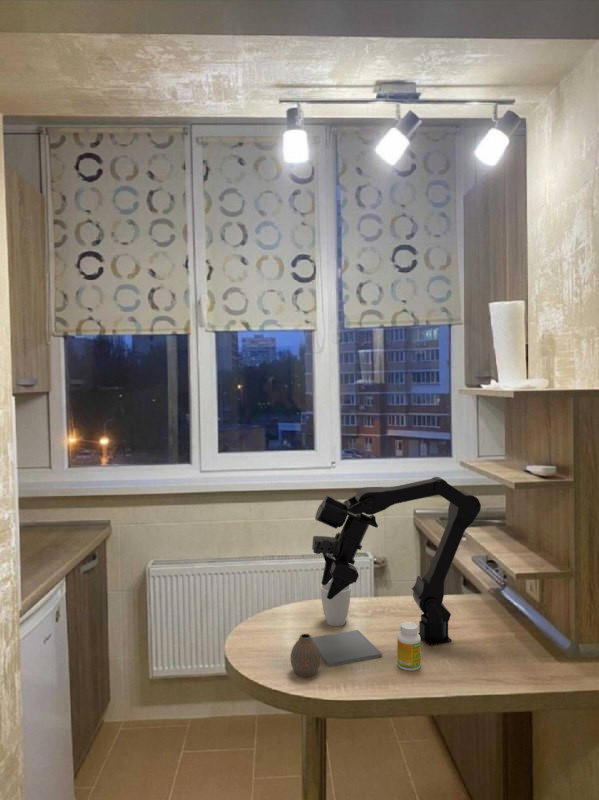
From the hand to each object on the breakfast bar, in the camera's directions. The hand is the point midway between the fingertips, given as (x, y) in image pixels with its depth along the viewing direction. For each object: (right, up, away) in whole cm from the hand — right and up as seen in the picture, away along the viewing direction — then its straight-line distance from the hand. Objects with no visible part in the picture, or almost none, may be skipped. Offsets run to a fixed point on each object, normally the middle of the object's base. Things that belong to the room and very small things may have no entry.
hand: (325, 591), depth 155 cm
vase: (-5, -15, -14) cm, 21 cm away
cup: (+3, -13, +14) cm, 19 cm away
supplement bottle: (+19, -14, -11) cm, 26 cm away
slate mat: (+4, -14, -2) cm, 14 cm away
